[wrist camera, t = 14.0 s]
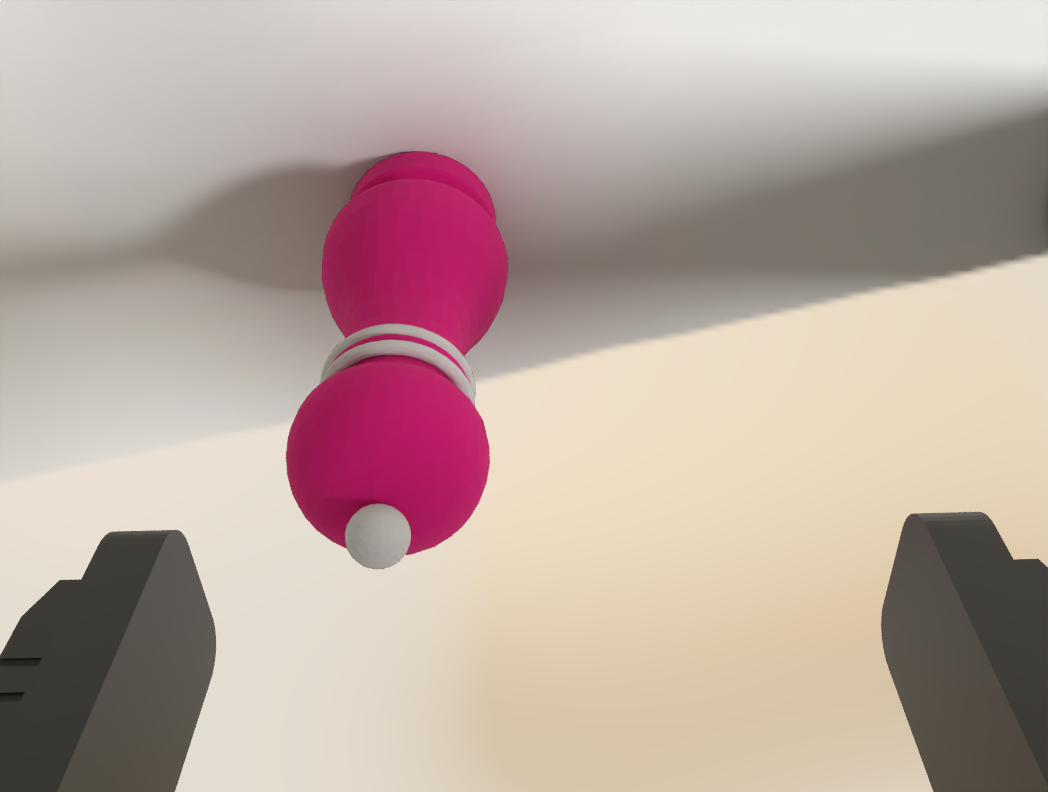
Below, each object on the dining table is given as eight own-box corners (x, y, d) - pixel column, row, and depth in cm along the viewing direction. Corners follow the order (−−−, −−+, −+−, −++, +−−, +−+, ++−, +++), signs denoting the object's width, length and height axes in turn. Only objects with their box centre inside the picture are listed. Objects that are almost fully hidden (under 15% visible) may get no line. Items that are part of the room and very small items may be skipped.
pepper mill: (505, 294, 44) (508, 649, 28) (344, 291, 44) (254, 647, 28) (509, 140, 40) (514, 457, 24) (330, 136, 40) (215, 453, 24)
